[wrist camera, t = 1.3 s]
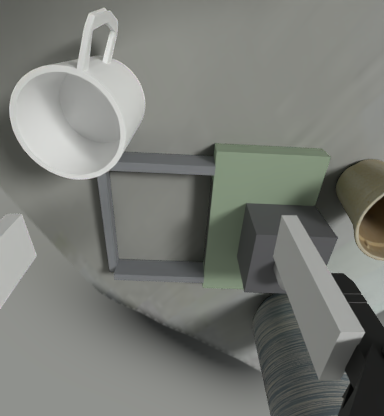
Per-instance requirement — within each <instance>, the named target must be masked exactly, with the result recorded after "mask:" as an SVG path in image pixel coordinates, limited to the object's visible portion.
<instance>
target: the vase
mask: <svg viewBox="0 0 384 416" xmlns="http://www.w3.org/2000/svg"><path fill="white" fill-rule="evenodd" d="M252 329H253V334H254V339H255V344H256V348H257V353H258V358H259V363H260V367H261V372H262V377H263V381H264V386H265V391H266V396H267V400H268V405H269V410H270V415H271V416H338V413H339V411H340V408H341V405H342V402H343V398H342V396H343V394H344V392H345V391H346V389H347V387H348V385H349V384H350V381H349V378H348V376H347V374H346V372H344V373H343V375H342V377H341V379H340V380H319V379H318V376H317V373H316V371H315V368H314V365H313V363H312V360H311V357H310V355H309V352H308V349H307V347H306V344H305V341H304V338H303V336H302V333H301V330H300V328H299V325H298V322H297V320H296V317H295V314H294V312H293V309H292V306H291V303H290V301H289V298H288V295H287V294H283V293H277V294H274V295H272V296H270V297H268V298H267V299H266V300H264V301H263V303H262V304H261V305H260V307H259V309H258V310H257V312H256V314H255V316H254V319H253V323H252Z"/></svg>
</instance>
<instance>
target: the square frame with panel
mask: <svg viewBox="0 0 384 416" xmlns="http://www.w3.org/2000/svg"><path fill="white" fill-rule="evenodd" d="M330 158H331V157H330V156H329V155H328V154H327V153H326V152H325V151H324V150H322V149H317V148H297V147H277V146H257V145H237V144H217V143H215V148H214V156H199V155H179V154H158V153H138V152H124V153H123V154H122V156H121V158H120V159H119V160H118V162H117V163H116V165H115V166H114V167H112V168H111V169H110V170H109V171H129V172H150V173H172V174H193V175H212V178H211V188H210V198H209V209H208V219H207V229H206V239H205V249H204V260H203V262H184V261H157V260H130V259H119V258H118V248H117V239H116V230H115V221H114V211H113V202H112V193H111V183H110V174H109V171H108V172H106V173H104V174H102V175H101V176H98V177H97V180H98V188H99V195H100V203H101V210H102V218H103V225H104V233H105V240H106V248H107V255H108V263H109V270H110V272H114V280H134V281H163V282H192V283H202V286H203V288H221V289H244V292H253V293H283V294H287V293H286V290H285V287H284V285H283V282H282V279H281V277H280V274H279V271H278V268H277V266H276V263H275V260H274V258H273V255H274V250H275V245H276V240H277V236H278V231H279V226H280V221H281V216H282V215H297V217H298V218H299V220H300V222H301V223H302V225H303V227H304V229H305V230H306V232H307V234H308V235H309V237H310V239H311V241H312V242H313V244H314V246H315V247H316V249H317V251H318V252H319V254H320V256H321V258H322V259H323V261H324V263H325V264H326V266H327V264H328V261H329V259H330V256H331V254H332V251H333V249H334V246H335V244H336V241H337V239H338V237H337V236H336V235H335V233H334V232H333V230H332V229H331V228H330V226H329V225H328V223H327V222H326V221H325V219H324V218H323V217H322V215H321V214H320V212H319V211H318V210H317V208H316V207H315V204H316V201H317V198H318V195H319V192H320V189H321V186H322V183H323V180H324V177H325V174H326V171H327V168H328V165H329V161H330Z"/></svg>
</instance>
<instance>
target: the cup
mask: <svg viewBox="0 0 384 416" xmlns="http://www.w3.org/2000/svg"><path fill="white" fill-rule="evenodd" d="M103 24H106V25H107V26H108V27H109V28H110V34H109V38H108V42H107V45H106V49H105V53H104V56H91V57H90V51H91V42H92V33H93V30H95V29H96V28H98V27H100V26H102V25H103ZM117 33H118V20H117V19H116V17H115V16H114V15H113V13H112V12H111V11H110V10H108V11H107V10H106V9H105V7H104V8H101V9H99V10H96V11H93V12H90V13H89V14H88V17H87V20H86V23H85V26H84V30H83V36H82V41H81V47H80V53H79V58H78V59H76V60H71V61H65V62H60V63H55V64H50V65H45V66H41V67H39V68H36V69H33V70H31V71H30V72H28V73H27V74H26V75H24V76H23V77H22V78H21V79H20V80H19V82H18V83H17V84H16V86H15V88H14V90H13V92H12V95H11V99H10V105H9V111H10V121H11V125H12V129H13V131H14V133H15V136H16V138H17V140H18V142H19V143H20V145H21V146H22V148H23V149H24V150H25V152H26V153H27V154H28V155H29V156H30V157H31V158H32V159H33V160H34V161H35V162H36V163H38V164H39V165H40V166H41V167H43V168H45V169H46V170H48V171H50V172H52V173H54V174H56V175H59V176H62V177H66V178H70V179H80V180H82V179H91V178H94V177H98V176H101V175H102V174H104V173H106V172H108V171H109V170H110V169H111V168H112V167H114V166H115V165H116V163H117V162H118V160H119V159H120V158H121V156H122V154H123V153H124V151H125V149H126V147H127V146H128V144H129V142H130V141H131V139H132V137H133V136H134V134H135V132H136V130H137V129H138V127H139V125H140V124H141V121H142V119H143V117H144V112H145V96H144V92H143V89H142V86H141V84H140V82H139V80H138V79H137V77H136V76H135V75H134V73H133V72H132V71H131V70H130V69H129V68H128V67H127V66H125V65H124V64H123V63H121V62H119V61H117V60H116V59H113V58H112V55H113V51H114V46H115V42H116V38H117Z"/></svg>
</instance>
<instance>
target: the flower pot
mask: <svg viewBox="0 0 384 416" xmlns="http://www.w3.org/2000/svg"><path fill="white" fill-rule="evenodd" d="M336 193H337V197H338V199H339V200H340V202H341V204H342V206H343V207H344V209H345V211H346V213H347V215H348V216H349V218H350V220H351V222H352V224H353V229H354V238H355V242H356V244H357V246H358V247H359V249H360V250H361V251H362V252H363V253H364V254H366V255H367V256H369V257H371V258H374V259H377V260H383V261H384V162H382V161H379V160H374V159H368V160H363V161H360V162H359V163H357V164H355V165H353V166H351V167H349V168H347V169H346V170H345V171H344V172H343V173H342V175H341V176H340V178H339V180H338V182H337V185H336Z"/></svg>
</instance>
